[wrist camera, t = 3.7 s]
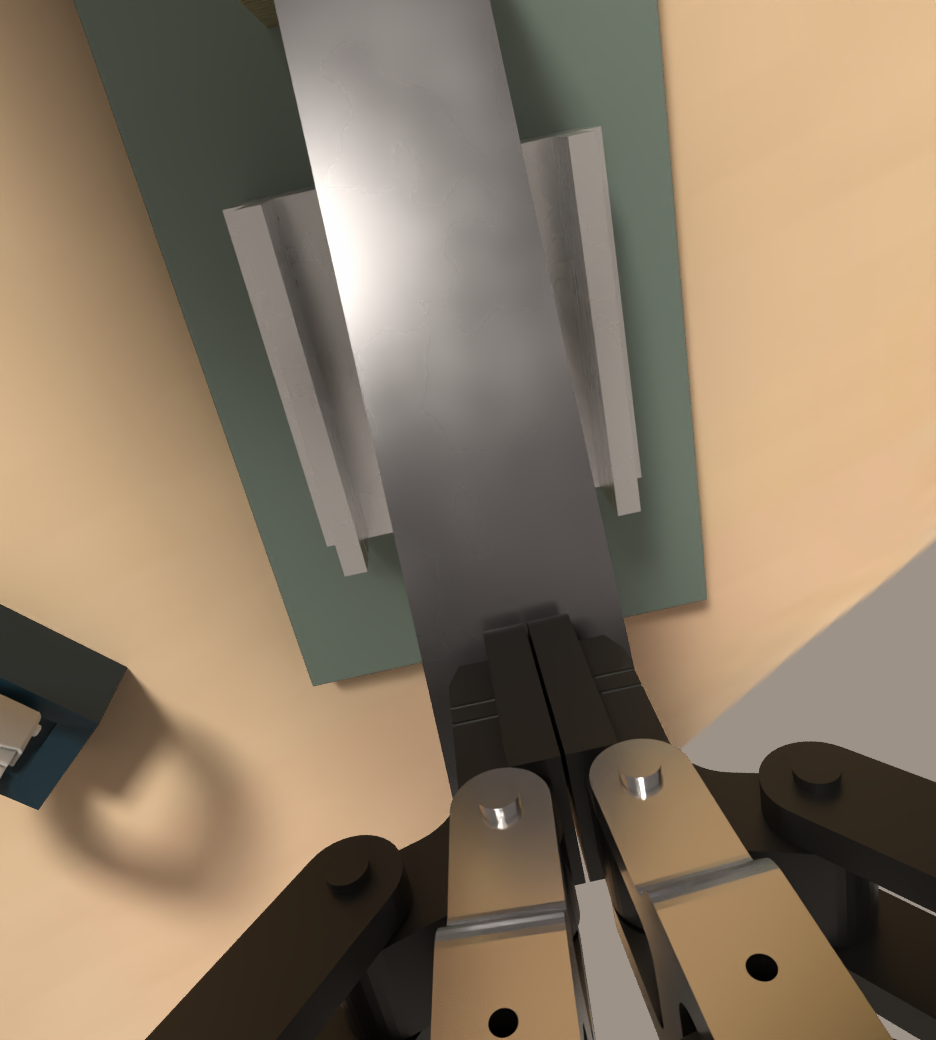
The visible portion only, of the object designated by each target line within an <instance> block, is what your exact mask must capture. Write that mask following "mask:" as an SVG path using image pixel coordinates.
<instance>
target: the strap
mask: <svg viewBox="0 0 936 1040" xmlns="http://www.w3.org/2000/svg"><path fill="white" fill-rule="evenodd" d="M274 3H275V8H276V12H277V17H278V21H279V26H280V30H281V35H282V39H283V44H284V48H285V52H286V57H287V61H288V66H289V70H290V75H291V79H292V84H293V88H294V93H295V97H296V101H297V106H298V110H299V115H300V119H301V124H302V128H303V133H304V137H305V142H306V146H307V151H308V155H309V159H310V164H311V168H312V173H313V177H314V182H315V186H316V191H317V195H318V200H319V204H320V208H321V213H322V217H323V222H324V226H325V231H326V235H327V240H328V244H329V249H330V253H331V257H332V262H333V266H334V271H335V275H336V280H337V284H338V289H339V293H340V298H341V302H342V306H343V311H344V315H345V320H346V324H347V329H348V333H349V338H350V342H351V347H352V351H353V356H354V360H355V364H356V369H357V373H358V378H359V382H360V387H361V391H362V396H363V400H364V405H365V409H366V413H367V418H368V422H369V427H370V431H371V436H372V440H373V445H374V449H375V454H376V458H377V462H378V467H379V471H380V476H381V480H382V485H383V489H384V494H385V498H386V503H387V507H388V512H389V516H390V520H391V525H392V529H393V534H394V538H395V543H396V547H397V552H398V556H399V561H400V565H401V569H402V574H403V578H404V583H405V587H406V592H407V596H408V601H409V605H410V610H411V614H412V618H413V623H414V627H415V632H416V636H417V641H418V645H419V650H420V654H421V659H422V663H423V667H424V672H425V676H426V681H427V685H428V690H429V694H430V699H431V703H432V708H433V712H434V717H435V721H436V725H437V730H438V734H439V739H440V743H441V748H442V752H443V757H444V761H445V766H446V770H447V774H448V779H449V783H450V788H451V792H452V797H453V798H454V796H455V794H456V793H457V791H458V781H457V770H456V760H455V749H454V739H453V726H452V718H451V707H450V697H449V685H450V683H451V681H452V679H453V677H454V675H455V673H456V671H457V669H458V667H459V666H464V665H468V664H473V663H478V662H482V661H487V660H488V657H487V652H486V647H485V641H484V636H483V632H484V631H489V630H493V629H498V628H503V627H507V626H512V625H516V624H521V623H524V627H525V630H526V634H527V637H528V641H529V645H530V648H531V644H530V639H529V634H528V629H527V622H529V621H534V620H539V619H543V618H548V617H552V616H557V615H562V614H566V613H567V614H568V615H569V618H570V620H571V623H572V625H573V628H574V631H575V633H576V636H577V638H578V640H583V639H587V638H592V637H597V636H601V635H605V636H607V637H608V638H610V639H611V640H613V641H614V642H616V643H617V644H618V645H620V646H621V647H623V648H624V649H625V651H626V653H627V655H628V657H629V659H630V661H631V664H632V666H633V661H632V656H631V652H630V647H629V643H628V638H627V633H626V629H625V624H624V619H623V615H622V610H621V606H620V601H619V596H618V592H617V587H616V582H615V578H614V573H613V568H612V564H611V559H610V555H609V550H608V545H607V541H606V536H605V531H604V527H603V522H602V518H601V513H600V508H599V504H598V499H597V494H596V490H595V485H594V481H593V476H592V471H591V467H590V462H589V457H588V453H587V448H586V444H585V439H584V434H583V430H582V425H581V420H580V416H579V411H578V407H577V402H576V397H575V393H574V388H573V383H572V379H571V374H570V370H569V365H568V360H567V356H566V351H565V346H564V342H563V337H562V333H561V328H560V323H559V319H558V314H557V309H556V305H555V300H554V296H553V291H552V286H551V282H550V277H549V272H548V268H547V263H546V259H545V254H544V249H543V245H542V240H541V235H540V231H539V226H538V221H537V217H536V212H535V208H534V203H533V198H532V194H531V189H530V184H529V180H528V175H527V171H526V166H525V161H524V157H523V152H522V147H521V143H520V138H519V134H518V129H517V124H516V120H515V115H514V110H513V106H512V101H511V97H510V92H509V87H508V83H507V78H506V73H505V69H504V64H503V60H502V55H501V50H500V46H499V41H498V36H497V32H496V27H495V23H494V18H493V13H492V9H491V4H490V0H274ZM531 652H532V649H531ZM532 655H533V654H532ZM633 669H634V666H633ZM634 671H635V670H634Z"/></svg>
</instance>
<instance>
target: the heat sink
mask: <svg viewBox="0 0 936 1040" xmlns="http://www.w3.org/2000/svg"><path fill="white" fill-rule="evenodd" d="M520 143H521V147H522V152H523V157H524V161H525V166H526V171H527V175H528V180H529V184H530V189H531V194H532V198H533V203H534V208H535V212H536V217H537V221H538V226H539V231H540V235H541V240H542V245H543V249H544V254H545V259H546V263H547V268H548V272H549V277H550V282H551V286H552V291H553V296H554V300H555V305H556V309H557V314H558V319H559V323H560V328H561V333H562V337H563V342H564V346H565V351H566V356H567V360H568V365H569V370H570V374H571V379H572V383H573V388H574V393H575V397H576V402H577V407H578V411H579V416H580V420H581V425H582V430H583V434H584V439H585V444H586V448H587V453H588V457H589V462H590V467H591V471H592V476H593V481H594V485H595V487H600V488H601V490H602V491H603V493H604V494H605V496H606V498H607V499H608V501H609V502H610V504H611V506H612V507H613V509H614V510H615V512H616V514H617V515H618V516H621V515H626V514H630V513H635V512H639V511H641V507H640V499H639V490H638V482H637V478H641V477H642V476H641V468H640V459H639V450H638V442H637V433H636V424H635V416H634V407H633V398H632V390H631V381H630V372H629V364H628V355H627V346H626V338H625V329H624V320H623V312H622V303H621V294H620V286H619V277H618V268H617V260H616V251H615V242H614V234H613V225H612V217H611V208H610V199H609V191H608V182H607V173H606V165H605V156H604V147H603V139H602V130H601V126H597V127H585V128H574V129H569V130H565V131H560V132H556V133H551V134H547V135H542V136H538V137H533V138H529V139H524V140H520ZM222 211H223V214H224V217H225V220H226V223H227V227H228V230H229V233H230V236H231V240H232V243H233V246H234V249H235V252H236V256H237V259H238V262H239V265H240V268H241V272H242V275H243V278H244V281H245V285H246V288H247V291H248V294H249V297H250V301H251V304H252V307H253V310H254V313H255V317H256V320H257V323H258V326H259V330H260V333H261V336H262V339H263V342H264V346H265V349H266V352H267V355H268V358H269V362H270V365H271V368H272V371H273V375H274V378H275V381H276V384H277V387H278V391H279V394H280V397H281V400H282V403H283V407H284V410H285V413H286V416H287V420H288V423H289V426H290V429H291V432H292V436H293V439H294V442H295V445H296V448H297V452H298V455H299V458H300V461H301V465H302V468H303V471H304V474H305V477H306V481H307V484H308V487H309V490H310V493H311V497H312V500H313V503H314V506H315V510H316V513H317V516H318V519H319V522H320V526H321V529H322V532H323V535H324V538H325V542H326V545H327V547H329V546H333V545H335V546H336V550H337V553H338V556H339V559H340V563H341V566H342V569H343V572H344V576H350V575H354V574H359V573H364V572H368V550H369V538H370V537H374V536H379V535H383V534H388V533H392V532H393V529H392V525H391V520H390V516H389V512H388V507H387V503H386V498H385V494H384V489H383V485H382V480H381V476H380V471H379V467H378V462H377V458H376V454H375V449H374V445H373V440H372V436H371V431H370V427H369V422H368V418H367V413H366V409H365V405H364V400H363V396H362V391H361V387H360V382H359V378H358V373H357V369H356V364H355V360H354V356H353V351H352V347H351V342H350V338H349V333H348V329H347V324H346V320H345V315H344V311H343V306H342V302H341V298H340V293H339V289H338V284H337V280H336V275H335V271H334V266H333V262H332V257H331V253H330V249H329V244H328V240H327V235H326V231H325V226H324V222H323V217H322V213H321V208H320V204H319V200H318V195H317V191H316V186H313V187H308V188H304V189H299V190H295V191H290V192H286V193H281V194H277V195H272V196H268V197H263V198H259V199H254V200H250V201H245V202H242V203H239V204H237V205H234V206H232V207H229V208H227V209H224V210H222Z"/></svg>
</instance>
